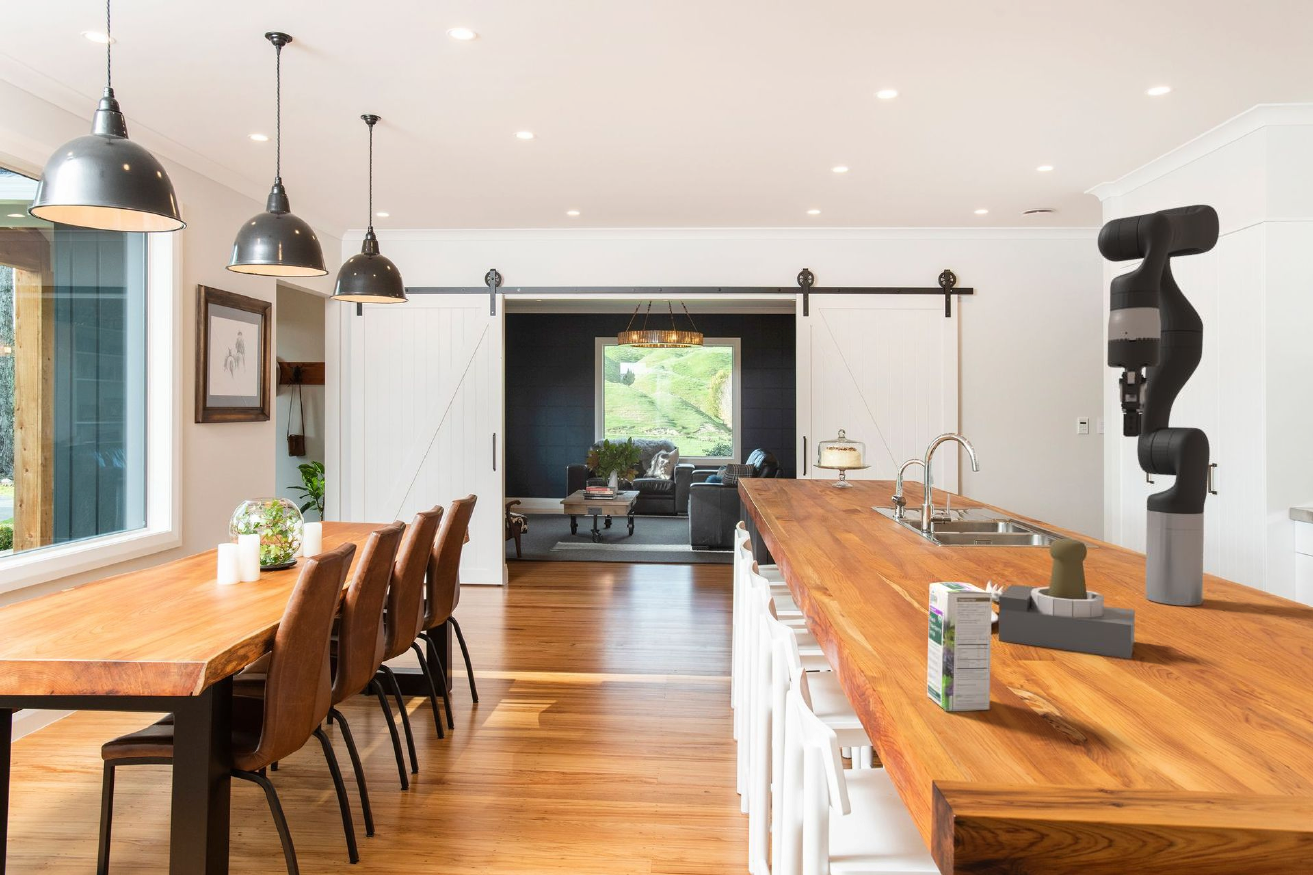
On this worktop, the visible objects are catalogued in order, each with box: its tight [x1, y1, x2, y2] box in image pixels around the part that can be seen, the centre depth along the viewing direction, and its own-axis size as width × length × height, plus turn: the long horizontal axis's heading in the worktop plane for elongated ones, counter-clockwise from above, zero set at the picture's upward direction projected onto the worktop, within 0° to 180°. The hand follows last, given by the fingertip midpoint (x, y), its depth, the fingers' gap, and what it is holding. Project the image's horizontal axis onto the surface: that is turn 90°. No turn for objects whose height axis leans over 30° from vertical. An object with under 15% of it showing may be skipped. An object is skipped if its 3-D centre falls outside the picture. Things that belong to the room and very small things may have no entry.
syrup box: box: [926, 581, 993, 712], centre depth 100 cm, size 6×6×14 cm
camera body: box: [998, 584, 1136, 660], centre depth 127 cm, size 11×18×8 cm, turn 57°
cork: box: [1048, 538, 1088, 600], centre depth 127 cm, size 6×6×11 cm
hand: (1132, 436), depth 134 cm, fingers open, 8 cm apart
